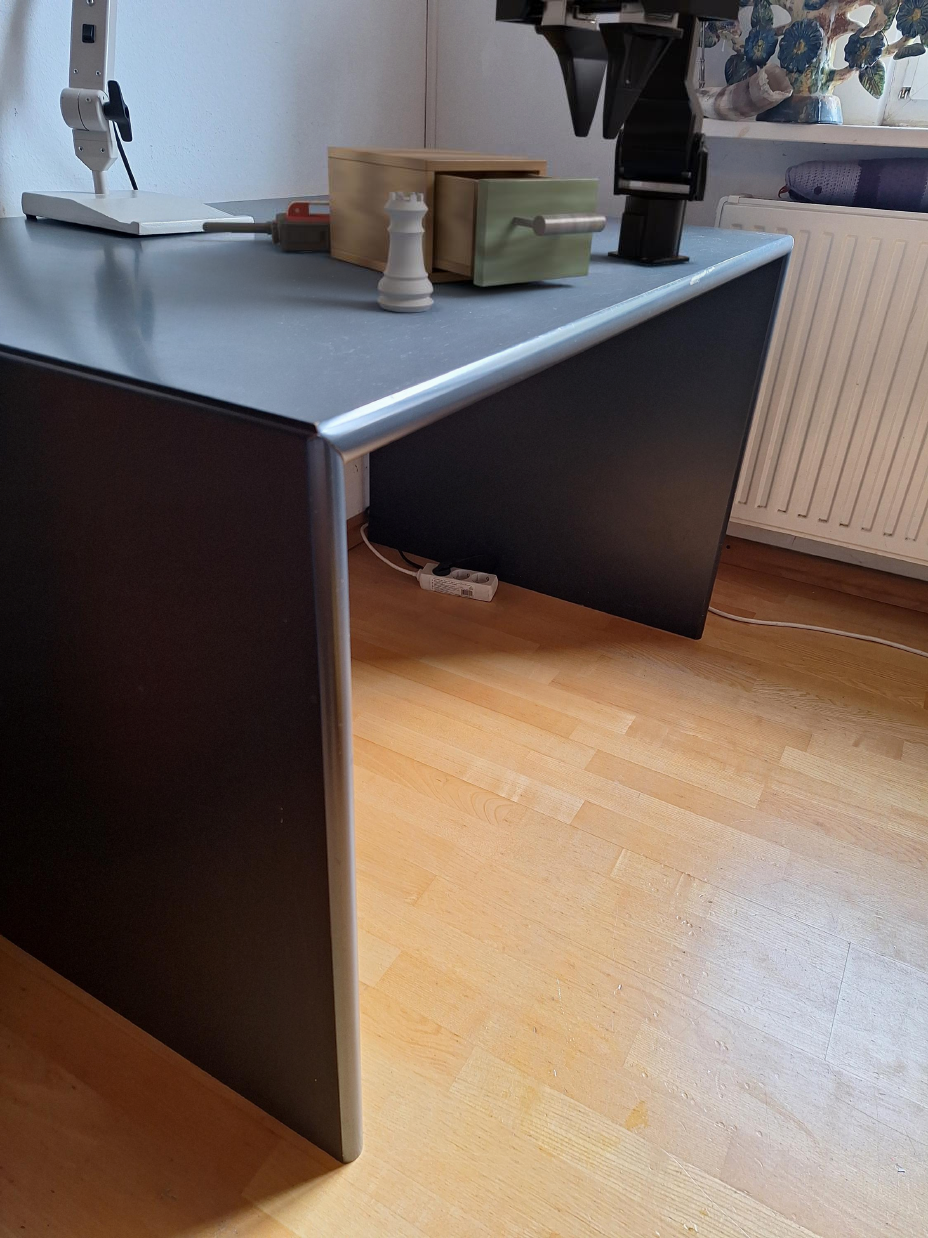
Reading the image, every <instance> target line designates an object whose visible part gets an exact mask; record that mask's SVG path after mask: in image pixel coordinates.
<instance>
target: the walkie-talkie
mask: <svg viewBox="0 0 928 1238" xmlns="http://www.w3.org/2000/svg"><path fill="white" fill-rule="evenodd" d="M310 205H311V206H329V200H301V199H299V200H298V199H295V200H291V201H289V203H288V204H287V205H286V209H285V211H286V212H279V213H276V214H275V218H274V219H271V220H270V221H266V222H237V221H235V222H232V221H231V222H229V221H226V222H225V221H205V222H203V224H202V227H201V228H202V231H203V232H205V233H230V234H266V235H267V236H271V243H272V244H273V245H279V247H280V248H281V250H282V251H283V252H284V253H285V252H286V253H331V242H330V213H326V212H325V213H324V212H323V213H319V212H318V213H317V212H310Z"/></svg>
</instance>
